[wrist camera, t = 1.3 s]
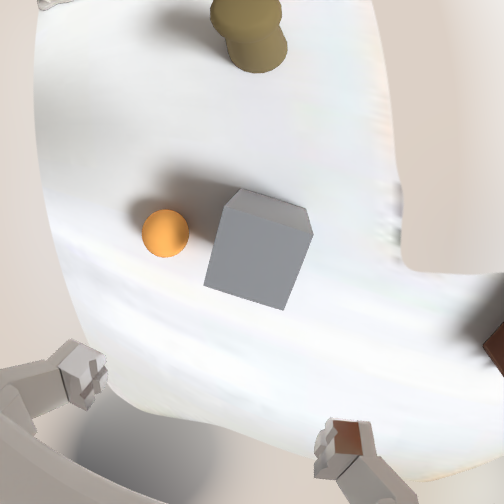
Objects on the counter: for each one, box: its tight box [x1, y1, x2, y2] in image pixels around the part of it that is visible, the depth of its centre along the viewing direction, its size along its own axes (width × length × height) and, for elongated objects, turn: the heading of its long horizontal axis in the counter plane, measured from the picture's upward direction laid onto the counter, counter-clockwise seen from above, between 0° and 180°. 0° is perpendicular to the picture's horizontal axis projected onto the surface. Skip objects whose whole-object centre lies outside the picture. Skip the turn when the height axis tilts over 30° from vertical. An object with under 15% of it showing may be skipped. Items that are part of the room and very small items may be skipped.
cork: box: [210, 0, 287, 73], centre depth 20 cm, size 6×6×11 cm
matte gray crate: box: [203, 188, 313, 310], centre depth 28 cm, size 7×7×9 cm
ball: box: [142, 209, 189, 257], centre depth 30 cm, size 5×5×5 cm
